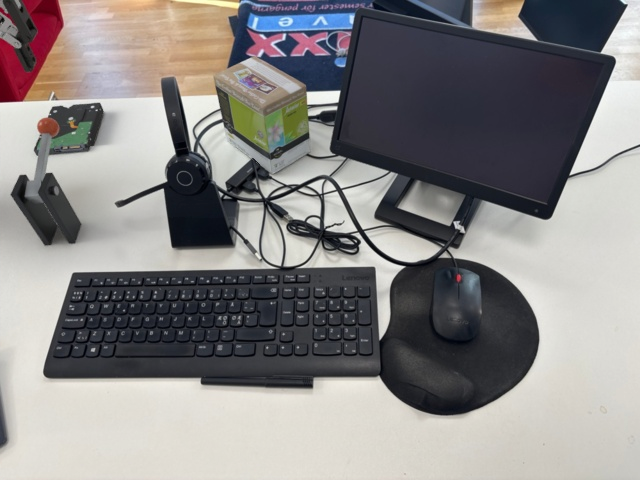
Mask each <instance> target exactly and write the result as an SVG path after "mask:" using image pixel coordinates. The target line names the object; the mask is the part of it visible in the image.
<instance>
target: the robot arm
mask: <svg viewBox="0 0 640 480" xmlns="http://www.w3.org/2000/svg"><path fill="white" fill-rule="evenodd" d="M0 8H1V9H2V10H3V12H4V13H5V14H8V15H9V17H10V18H11V19H10V18H9V17H7V15H5V14H3V12H1V11H0V39H2V40H4V41H5V42H6V43H7V44H9V45H10V46H12V47H14V48H13V51H14V53H15V55H16V57H17V59H18V61H19V62H20V65H21V67H22V68H23V70H24V72H25V73H32V72H33V71H34V69H35V67H36V64H37V58H36V56H35V53H34V52H33V49H32V47H31V45H30V44H32V43H33V41H34V40H35V38H36V36H37V35H38V33H39V30H38V27H37V26H36V24H35V22H34V20H33V19H32V16H31V15H30V13H29V11H28V10H27V7H26V6H25V3H24V1H23V0H0ZM12 21H13V22H12Z"/></svg>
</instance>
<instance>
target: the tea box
mask: <svg viewBox="0 0 640 480" xmlns="http://www.w3.org/2000/svg"><path fill="white" fill-rule="evenodd" d="M212 76H213V81H214V86H215V92H216V95H217V100H218V105H219V110H220V115H221V120H222V124H223V129H224V134H225V137H226V141H227V142H229V143H230V144H232V146H234V147H235V148H237V149H238V150H240V151H241V152H242V153H243V154H245V155H246V156H247V157H248V158H250V159H251V160H253V159H252V158H254V159H255V160H256V161H257V162H258V163H259V164H260V165H259V164H258V163H257V162H256V163H257V164H258V165H259V166H260V167H262V168H263V169H265V170H266V171H267V172H269V173H270V174H271V175H274V174H275V173H278V172H279V171H281V170H283V169H284V168H285V169H286V167H288V166H290V165H291V164H293V163H295V162H296V161H298V160H300V159H302V158H303V157H305V156H306V155H308V154H309V153H311V137H310V135H311V134H310V122H309V107H308V92H307V85H306V84H304V82H302V81H300V80H299V79H296V78H295V77H293V76H291V75H289V74H287V73H286V72H284V71H282V69H281V70H280V69H278V68H277V67H275V66H274V65H272V64H270V63H268V62H267V61H265V60H263V59H262V58H259V57H258V56H256V55H254V56H251V57H250V58H246V59H245V60H243V61H241V62H238V63H236V64H234V65H232V66H230V67H227V68H225V69H223V70H221V71H219V72H217V73H214V74H213V75H212Z"/></svg>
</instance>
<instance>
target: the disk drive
mask: <svg viewBox="0 0 640 480" xmlns="http://www.w3.org/2000/svg"><path fill="white" fill-rule="evenodd" d="M104 113H105V111H104V108H103V106H102V103H101V102H92V103H77V104H72V105H71V106H69V107H67V106H64V105H54V106H53V105H52V106H51V108H50V110H49V112H48V115H47V117H48V118H52V119H54V120H55V121H56V122H57V123H58V125H59V132H58V134H57V135H56V136H54V137H52V138H51V144H50V150H49V156H54V155H64V154H65V155H66V154H76V153H87V152H90V149H91V147H94V145H95V143H96V139H97V136H98V133H99V129H100V127H101V123H102V120H103V116H104ZM38 136H39V137H38V139H37V140H36V143H35V146H34V148H33V152H34V154H35V155H36V157H38V154H39V148H40V143H41V137H42V135H41V134H40V133H39V135H38Z"/></svg>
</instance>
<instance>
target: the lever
mask: <svg viewBox="0 0 640 480" xmlns="http://www.w3.org/2000/svg"><path fill="white" fill-rule="evenodd" d="M36 129H37V131H38V134H39V135H40V134H41V135H42V137H41V143H40V148H39V154H38V156H37V159H36V166H35V171H34V178H33V180H30V181H27V185H26V190H25V196H24V197H25V198H26V199H28V200H29V201H30V202H31V203H32V204H41V203H44V202H43V201H42V199H41V197H40V196H39V194H38V190H39V188H40V186H41V183H42V181H43V179H44V176H45V174H46V173H47V167H48V166H47V165H48V163H49V161H48V160H49V156H50V155H49V150H50V144H51V138H52V137H54V136H56V135H57V134H58V132H59V125H58V123H57V122H56V121H55V120H54V119H52V118H48V116H47V117H42V118H41V119H39V121H38V122H37V124H36Z"/></svg>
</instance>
